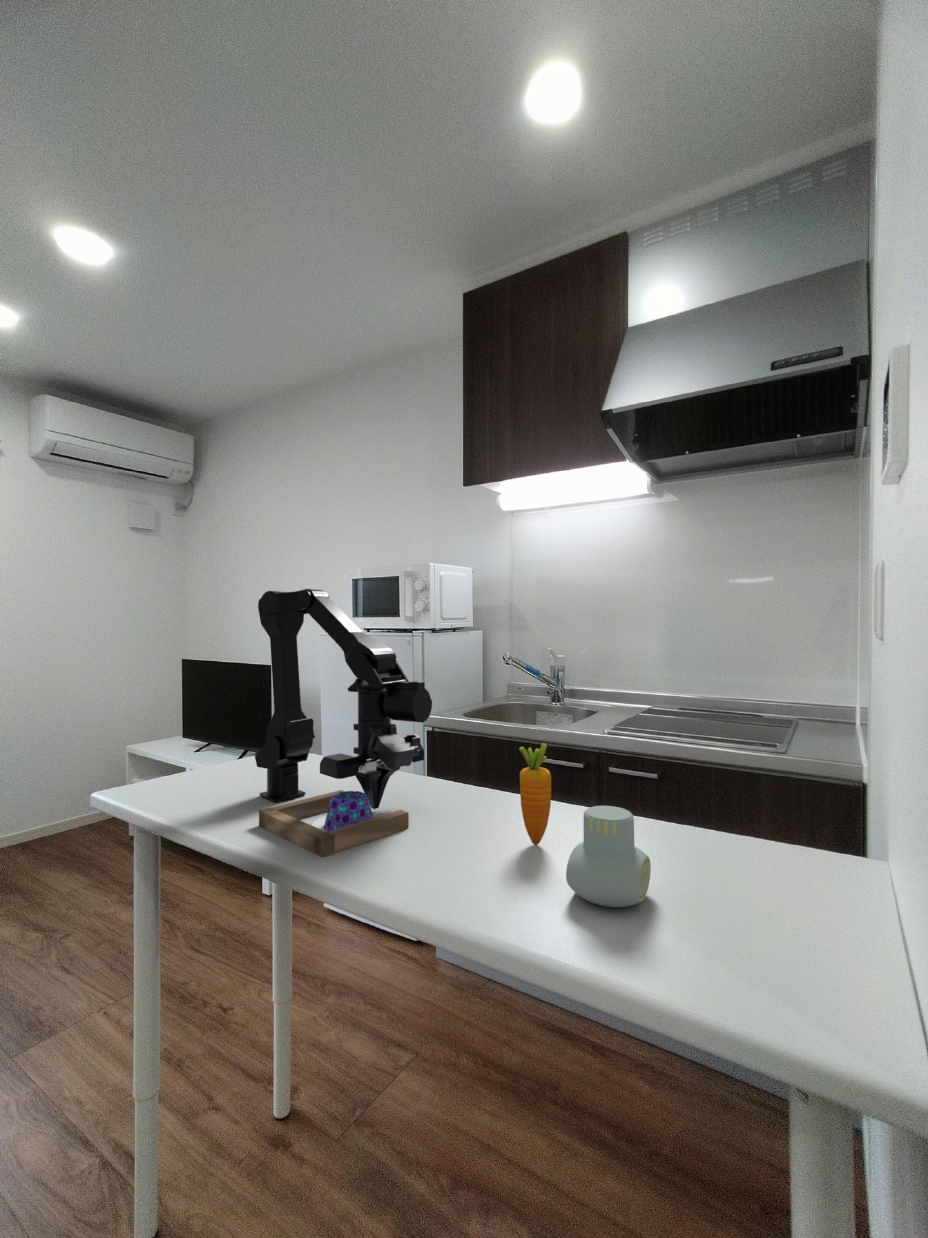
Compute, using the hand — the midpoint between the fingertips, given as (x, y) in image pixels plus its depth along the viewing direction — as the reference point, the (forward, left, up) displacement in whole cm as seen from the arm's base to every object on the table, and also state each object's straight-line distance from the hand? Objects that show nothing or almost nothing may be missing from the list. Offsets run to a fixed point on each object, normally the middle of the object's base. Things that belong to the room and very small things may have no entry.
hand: (374, 808), depth 98 cm
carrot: (+29, +8, -1) cm, 30 cm away
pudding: (+1, -6, -2) cm, 7 cm away
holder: (0, -7, -1) cm, 7 cm away
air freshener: (+45, +1, -1) cm, 45 cm away
